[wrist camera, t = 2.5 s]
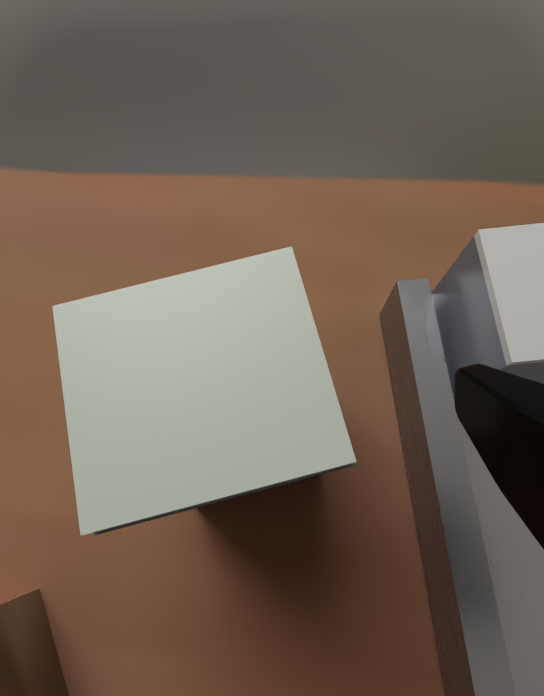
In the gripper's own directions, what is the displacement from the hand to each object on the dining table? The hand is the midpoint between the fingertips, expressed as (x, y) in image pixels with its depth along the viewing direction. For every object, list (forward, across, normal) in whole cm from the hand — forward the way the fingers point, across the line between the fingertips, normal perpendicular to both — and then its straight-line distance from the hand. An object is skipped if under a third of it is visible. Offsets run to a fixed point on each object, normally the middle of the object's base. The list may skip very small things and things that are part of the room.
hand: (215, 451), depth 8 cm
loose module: (+7, 0, +5) cm, 8 cm away
